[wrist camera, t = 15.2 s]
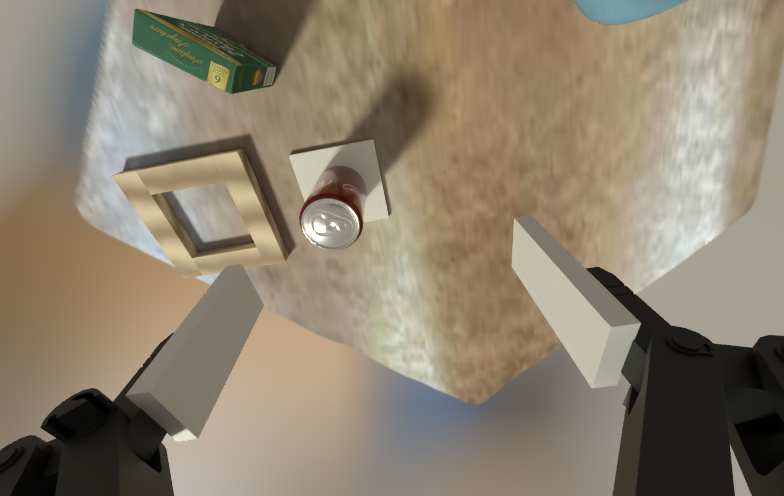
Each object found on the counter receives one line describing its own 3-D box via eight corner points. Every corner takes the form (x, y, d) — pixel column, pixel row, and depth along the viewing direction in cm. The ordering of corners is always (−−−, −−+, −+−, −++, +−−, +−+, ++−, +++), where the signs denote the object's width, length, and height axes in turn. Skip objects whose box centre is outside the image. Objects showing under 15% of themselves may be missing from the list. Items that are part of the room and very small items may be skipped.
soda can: (316, 207, 45) (297, 248, 35) (319, 159, 41) (298, 190, 31) (363, 214, 46) (358, 256, 36) (370, 169, 42) (367, 201, 32)
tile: (289, 154, 41) (288, 155, 41) (373, 138, 40) (373, 139, 40) (315, 228, 48) (315, 230, 47) (388, 216, 47) (388, 217, 46)
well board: (122, 171, 42) (111, 175, 40) (243, 148, 41) (237, 151, 39) (189, 271, 51) (183, 278, 49) (289, 255, 50) (285, 261, 48)
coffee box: (282, 65, 36) (237, 63, 25) (274, 88, 37) (228, 97, 26) (213, 24, 33) (129, 2, 22) (207, 51, 35) (125, 42, 24)
